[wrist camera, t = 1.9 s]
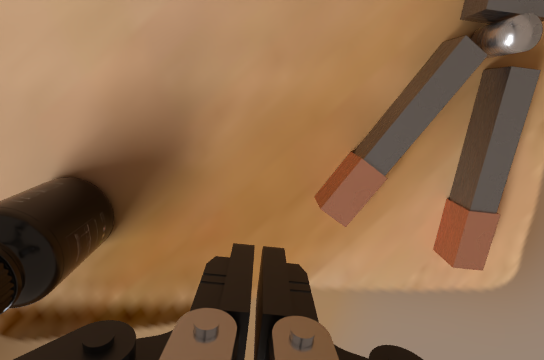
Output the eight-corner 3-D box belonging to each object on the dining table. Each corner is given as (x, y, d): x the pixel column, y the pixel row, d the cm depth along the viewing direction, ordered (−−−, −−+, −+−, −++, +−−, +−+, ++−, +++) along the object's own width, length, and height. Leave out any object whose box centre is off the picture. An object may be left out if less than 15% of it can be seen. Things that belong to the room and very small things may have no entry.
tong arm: (440, 40, 25) (465, 32, 22) (464, 61, 26) (491, 56, 22) (314, 196, 28) (320, 208, 25) (336, 213, 29) (345, 227, 25)
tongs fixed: (467, -9, 24) (505, -30, 20) (533, 0, 25) (583, -18, 21) (405, 246, 29) (426, 269, 26) (460, 252, 30) (489, 275, 26)
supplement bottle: (31, 235, 28) (-130, 330, 17) (44, 164, 27) (-123, 215, 15) (108, 258, 29) (4, 364, 18) (125, 190, 28) (24, 257, 16)
